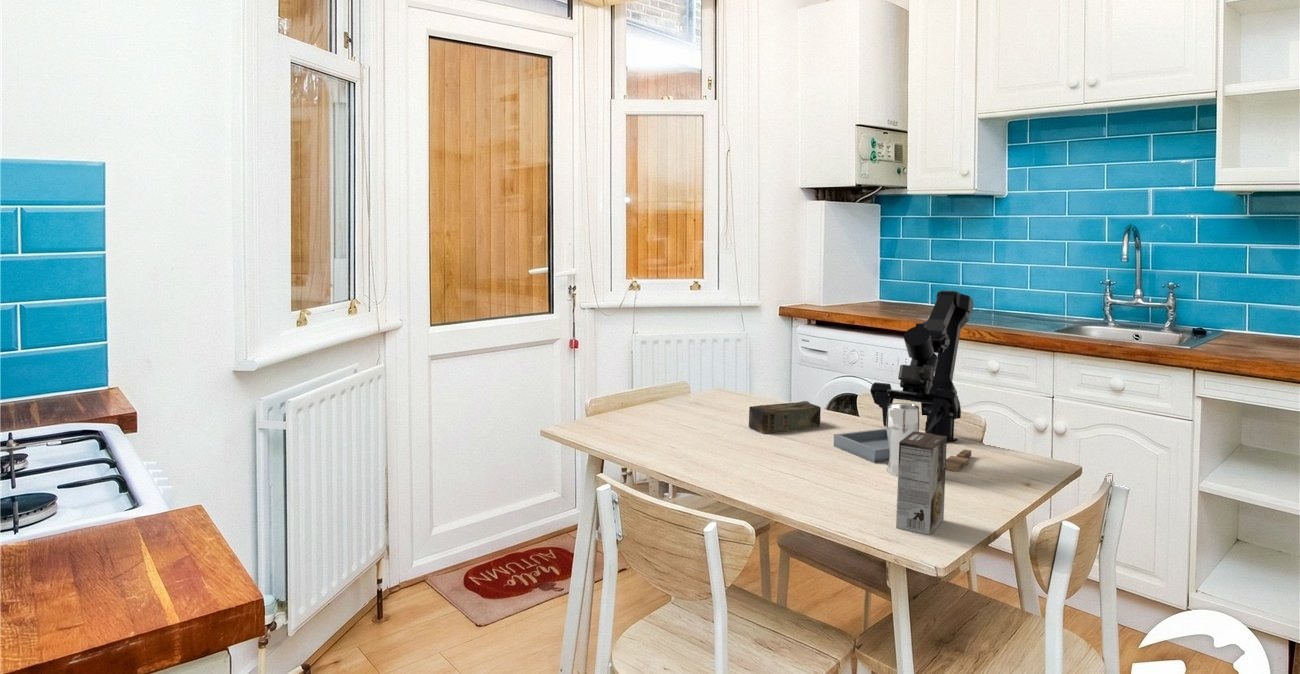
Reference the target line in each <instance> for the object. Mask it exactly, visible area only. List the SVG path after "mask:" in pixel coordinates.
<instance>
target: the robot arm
mask: <svg viewBox="0 0 1300 674" xmlns="http://www.w3.org/2000/svg"><path fill="white" fill-rule="evenodd" d="M935 298H936V299H935V303H934V306H933V308H932V310H931V312H930V314H929V317H928V319H927V320H926V321H924V322H922V323H921V322H920V323H918V322H917V323H916V324H915V326H913V327H910V328H909V329H907V330H906V331H905V332H904V334H903V340H904V344H905V347H906V351H907V354H908V357H909V358H911V360H910V364H909V365H908V364H900V365H899V371H898V376H897V377H898V378H897V379H898V380H899V381H900V382H899V385H900V386H899V387H900V388H902V390H897V389H892V386H891V384H890V383H889V382H888V383H887V382H885V383H884V382H874V383H872V384H871V387H870V389H869V390H870V395H871V397H872V400H873V402H874V404H876V405H877V406H878V407H879V408H881V411H882V412H881V413H882V422H883V424H882V425H883V427H884V428H885V427H886V421H887V412H888V405H889V404H892V403H893V402H894V400H903V401H910V402H913V403H920V406H921V407H920V408H921V416H926V421H925V429H924V433H930V434H935V435H940V436H947V443H949V442H956V441H957V440H958V441H959V438H957V437H955V436H954V432H955V420H958V419H961V418H962V409H961V407H962V406H961V402H960V399H959V396H958V391H957V389H956V387H955V385H954V383H953V378H954V374H955V373H954V372H955V366H956V360H957V354H958V348H959V343H960V342H959V341H960V336H961V330H962V328H963V327H964V326H965V325H966V324H967V323H968V322H969V320H970V316H971V314H972V313H973V310H974V299H973V297H971V296H969V294H963V293H960V291H957V290H939V291H937V294H936V297H935Z"/></svg>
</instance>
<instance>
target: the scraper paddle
mask: <svg viewBox="0 0 1300 674" xmlns="http://www.w3.org/2000/svg"><path fill="white" fill-rule="evenodd" d="M970 456H971V457H972V450H971V449H966V448H965V449H963V450H961V451H960V452H959V453H957V454H956V456H954V455H950V456H949V457H946V471H950V470H951V472H956V471H957V472H958V471H959V472H960V471H962V470H963V469H964V468H965V467H967V466H968V465H969V464H968V463H970V458H969V457H970ZM968 458H969V459H968ZM967 464H968V465H967ZM964 466H965V467H964ZM963 467H964V468H963ZM957 472H956V473H957ZM959 472H958V473H959Z"/></svg>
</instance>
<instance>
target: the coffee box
mask: <svg viewBox="0 0 1300 674" xmlns="http://www.w3.org/2000/svg"><path fill="white" fill-rule="evenodd" d="M947 444H948V442H947V436H940V435H935V434H930V433H925V432H921V431H919V432H914V431H913V432H912V433H910V434H909V435H908V436H907V437H905V438H904V439H903V440H901V441H900V442H899V465H898V475H897V489H896V490H897V492H896V493H897V495H896V496H897V497H896V519H895V521H896V522H895V528H896V529H900V530H904V531H910V532H915V533H919V534H923V535H929V536H930V535H932V534H933V533H934V531H935V530H936V529H937V528H938V527H939V526H940V525H941V523H942V522H943V520H944V518H945V515H944V513H945V493H946V488H945V487H946V473H947V472H946V471H947V470H946V459H947Z"/></svg>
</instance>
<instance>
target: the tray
mask: <svg viewBox="0 0 1300 674" xmlns="http://www.w3.org/2000/svg"><path fill="white" fill-rule="evenodd" d="M833 447H835V448H837V449H839V450H842V451H844V452H846V453H849V454H851V455H854V456H857V457H860V458H862V459H864V460H866V461H868V462H871V463H873V464H877V463H885V462H888V461H889V447H888V440H887V431H886V428H885V427H884V428H879V429H869V430H862V431H861V430H859V431H852V432H851V431H849V432H843V433H833Z"/></svg>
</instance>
